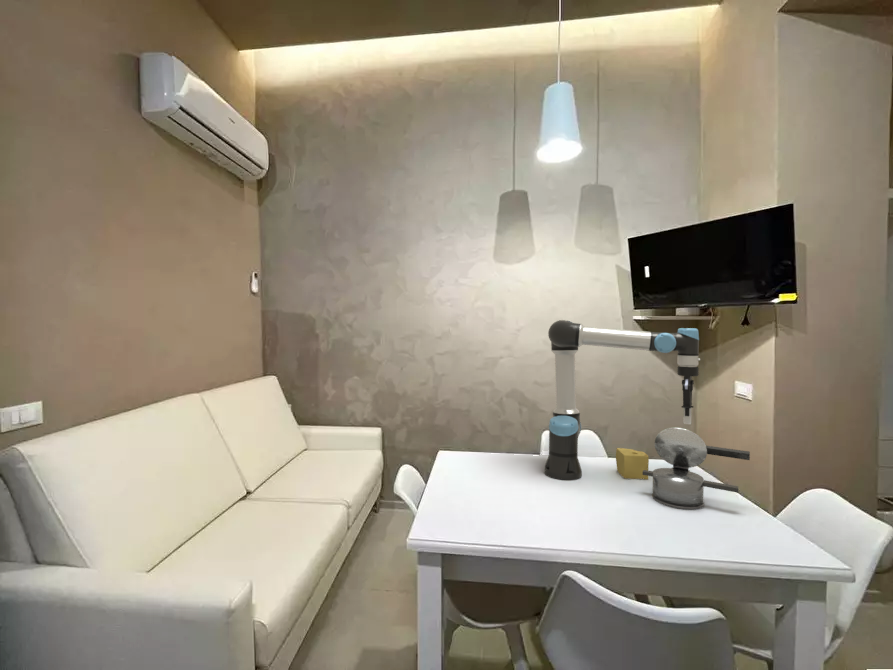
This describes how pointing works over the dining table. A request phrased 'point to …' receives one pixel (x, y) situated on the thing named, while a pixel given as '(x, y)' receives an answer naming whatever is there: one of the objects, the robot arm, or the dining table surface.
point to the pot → (681, 488)
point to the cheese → (631, 463)
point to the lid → (689, 448)
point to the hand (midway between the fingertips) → (687, 423)
